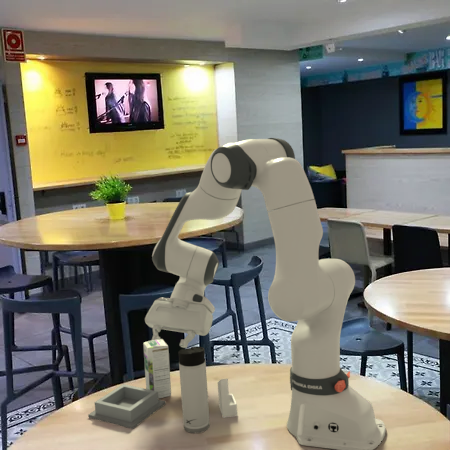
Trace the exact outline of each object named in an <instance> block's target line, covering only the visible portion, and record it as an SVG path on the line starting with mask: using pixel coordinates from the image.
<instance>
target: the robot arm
mask: <svg viewBox="0 0 450 450" xmlns="http://www.w3.org/2000/svg"><path fill="white" fill-rule="evenodd" d="M251 187H254V188H256V189H257V190H259V191H260V192H261V194H262V196H263V199H264V203H265V208H266V212H267V215H268V219H269V223H270V228H271V232H272V236H273V240H274V246H275V271H274V276H273V279H272V282H271V285H270V286H269V289H268V294H267V295H268V296H267V297H268V298H267V299H268V304H269V306H270V309H271V310H272V312H273V313H274V315H275V316H276V317H277V318H279V319H281V320H283V321H284V322H289V323H290V322H297V323H296V325H295V328H294V329H293V331H292V334H291V337H290V353H291V354H290V355H291V366H290V370H289V372H290V373H289V384H290V391H291V399H290V410H289V415H288V419H287V422H286V427H287V430H288V431H289V433H291V434H292V436H294V437H295V438H296V440H297V442H298V444H299V445H301V446H307V447H313V448H315V447H316V448H323V449H332V450H375V449H376V448H377V447H379V446H380V444H381V443H382V442H383V440H384V439H385V436H386V432H387V431H386V424H385V423H384V421H383V420H381V419H380V418H376V415H375V409H374V407H373V405H372V403H371V402H370V401H369V400H368V399H367V398H366V397H364V396H363V395H362V394H361V393H359V392H358V391H357V390H355V388H353V387H352V386H351V385H350V384H349V381H350V380H349V378H350V377H351V371H347V373H345V371H343V369H342V367H341V353H340V352H341V350H340V349H341V346H340V345H341V343H340V341H341V332H342V327H343V322H344V316H345V313H346V308H347V304H348V300H349V298H350V295H351V293H352V292H353V290H354V288H355V285H356V276H355V273H354V270H353V269H352V266H350V265H349V263H347V262H346V261H344V260H342V259H340V258H321V259H319V249H320V243H321V240H322V238H323V235H324V228H323V225H322V222H321V217H320V214H319V210H318V208H317V207H318V206H317V204H316V199H315V196H314V193H313V189H312V186H311V184H310V182H309V179H308V177H307V174H306V172H305V170H304V168H303V165H301V163H300V162H299V161H298V159H296V155H295V151H294V148H293V147H292V145H290V143H289V142H288V141H286V140H285V139H282V138H277V137H269V138H256V139H254V138H248V139H245V140H244V139H243V140H240V141H236V142H227V143H225V144H223V145H221V146H219V147H218V148H217V147H216V148H215V149H214V150H213V151H212V152H211V153H210V155H209V157H208V159H207V161H206V163H205V165H204V168H203V170H202V173H201V176H200V180H199V183H198V185H197V187H196V188H195V189H194V190H193V191H190V192H186V193H185V194H184V195H183V196H182V197H181V199H180V201H179V202H178V204H177V206H176V208H175V210H174V212H173V214H172V216H171V217H170V220H169V221H168V223H167V226H166V228H165V230H164V232H163V234H162V236H161V237H160V239H159V240H158V242H156V244H155V246H154V248H153V251H152V255H151V257H152V258H151V260H152V262H153V265H154V266H155V268H156V269H157V270H158V271H161V272H165V273H170V274H173V275H176V276H179V279H178V281H177V282H175V286H174V288H173V290H172V293H171V295H170V298H169V297H159V298H157V299H155V300H154V301H153V303H152V305H151V306H150V308H149V310H148V311H147V313H146V315H145V317H144V322H145V324H146V325H147V326H148V327H149V328H151V329H152V334H153V335H152V338H151V340H160V339H161V336H159V333H160V332H161V330H164V331H165V330H166V331H172V332H178V333H183V334H185V333H186V334H187V335H186V337H185V338H184V339H180V342H179V347H180V348H182V349H188V345H189V343H191V342H192V341H193V340H194V339H195V337H196V335H198V336H203V337H204V336H206V335H208V334H209V333H210V332H211V331H210V330H211V327H212V324H213V320H214V316H213V315H214V313H215V311H216V308H215V305H214V304H213V303H212V302H211V301H210V299H208V298H207V297H206V296H205V290H206V287H208V285H210V284H212V283H213V282H214V279H215V276H216V273H217V271H218V269H219V266H220V262H219V259H218V257H217V255H216V253H215V252H214V251H212V250H210V249H206V248H205V247H202V246H198V245H196V244H193V243H190V242H187V241H184V240H181V239H180V238H179V236H180V233H181V231H182V229H183V227H184V226H185V223H187V222H189V221H194V220H195V221H196V220H206V221H214V220H215V221H216V220H220V219H223V218H225V217H226V218H227V216H229V215H231V214H232V213H233V212H234V211H235V209H236V207H237V205H238V203H239V200H240V197H241V194H242V190H244V191H248V190H250V189H251ZM381 441H382V442H381ZM378 445H379V446H378Z"/></svg>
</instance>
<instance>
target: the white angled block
mask: <svg viewBox="0 0 450 450" xmlns="http://www.w3.org/2000/svg"><path fill="white" fill-rule="evenodd" d="M229 390H230V389H229V378H221V379H219V380H218V382H217V391H218V395H217V396H218V407H219V411H220V413H221V417H222V418H223V419H224V418H231V417H237V416H238V405H237V401H236V399H235V396H234V394H233V393H230V392H229Z"/></svg>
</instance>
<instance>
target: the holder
mask: <svg viewBox="0 0 450 450" xmlns="http://www.w3.org/2000/svg"><path fill="white" fill-rule="evenodd" d="M166 402H167V401H166V400H164V399H160V398H159V399H158V391H153V390H149V389H146V388H143V387H139V386H134V385H129V384H125V383H122V384H121V385H119V386H117V387H116V388H114V389H113V390H112V391H110V392H108V393H106V394H105V395H104V396H102V397H100V398H99V399H97V400H96V401H94V410H93V411H91V412H90V413H88V414H87V416H88V417H89V419H93V420H96V421H100V422H104V423H108V424H113V425H116V426H119V427H123V428H127V429H131V430H133V429H135V428H136V427H137V426H138V425H140V424H141V423H143V422H144V421H145V420H147V418H149V417H151V416H152V415H153V414H154V413H155V412H157V411H158V410H160V409H161V408H162V407H164V406H165V405H167V403H166ZM88 417H87V418H88Z"/></svg>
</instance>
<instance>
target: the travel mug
mask: <svg viewBox="0 0 450 450" xmlns="http://www.w3.org/2000/svg"><path fill="white" fill-rule="evenodd" d="M206 364H207V363H206V351H205V348H204V347H201V346H192V347H187V348H181V349H179V350H178V365H179V367H178V368H179V379H180V380H179V383H180V397H181V407H182V409H181V410H182V423H183V425H182V426H183V430H184V431H186V432H187V433H190V434H200V433H204V432H206V431H208V429H209V428H210V425H211V424H210V411H209V410H210V409H209V398H208V397H209V396H208V395H209V393H208V378H207V365H206Z"/></svg>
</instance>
